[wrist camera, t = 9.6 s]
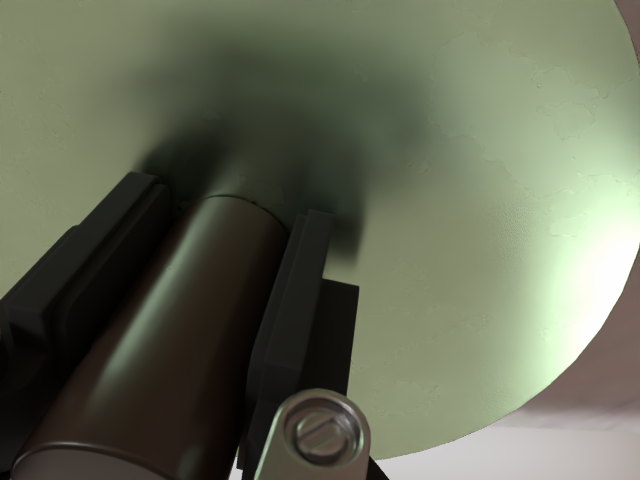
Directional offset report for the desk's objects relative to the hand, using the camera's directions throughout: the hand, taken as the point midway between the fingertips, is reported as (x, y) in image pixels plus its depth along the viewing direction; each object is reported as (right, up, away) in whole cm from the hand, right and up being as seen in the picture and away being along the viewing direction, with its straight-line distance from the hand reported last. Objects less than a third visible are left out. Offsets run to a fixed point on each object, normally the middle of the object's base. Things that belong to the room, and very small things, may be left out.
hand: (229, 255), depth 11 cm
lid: (0, 0, +1) cm, 1 cm away
